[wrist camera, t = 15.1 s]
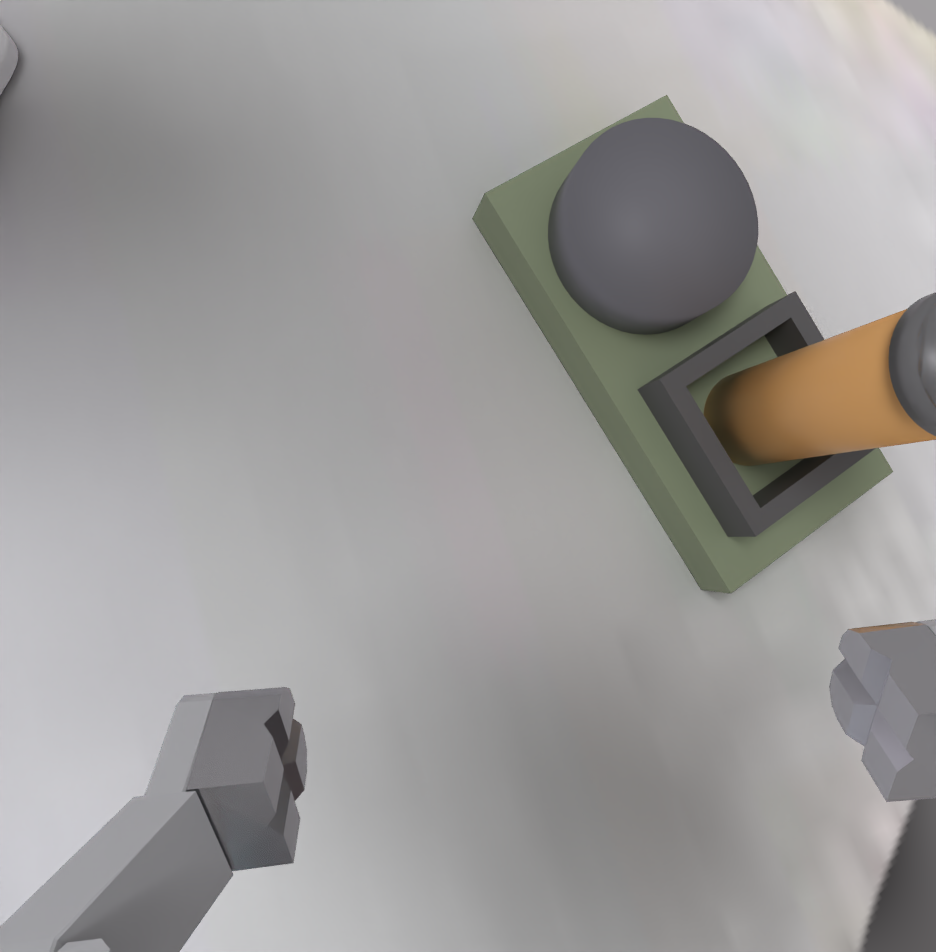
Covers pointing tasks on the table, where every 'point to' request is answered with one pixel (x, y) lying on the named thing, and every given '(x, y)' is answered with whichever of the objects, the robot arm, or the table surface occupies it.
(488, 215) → the green slab
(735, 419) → the orange pill bottle
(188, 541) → the table surface
